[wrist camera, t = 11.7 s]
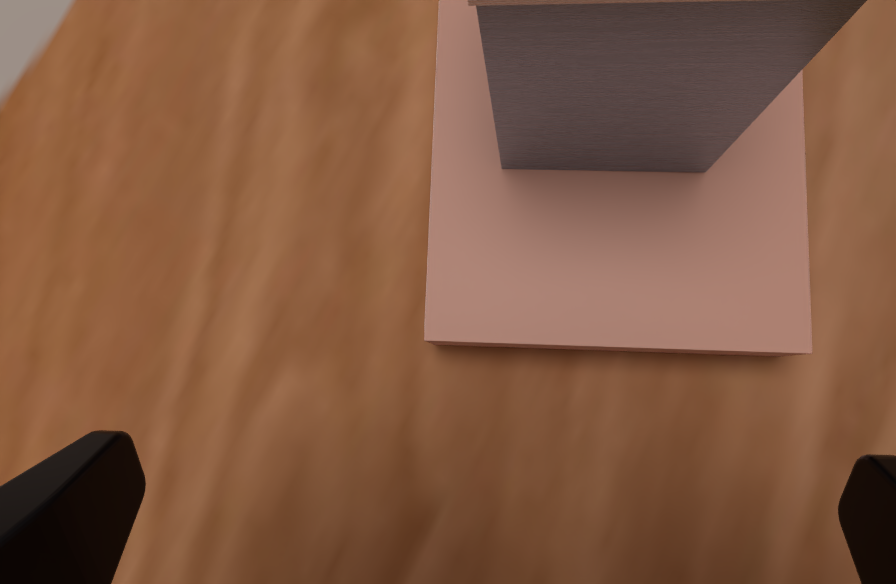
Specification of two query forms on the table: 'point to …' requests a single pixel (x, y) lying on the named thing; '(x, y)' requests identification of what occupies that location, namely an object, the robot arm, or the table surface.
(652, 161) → the tin
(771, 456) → the table surface
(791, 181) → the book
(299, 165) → the table surface
